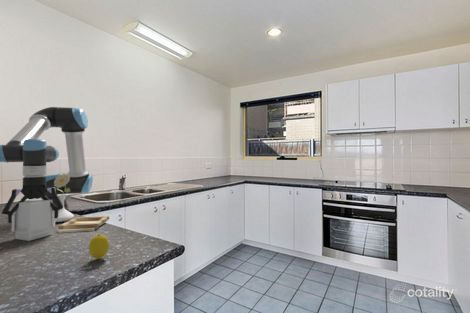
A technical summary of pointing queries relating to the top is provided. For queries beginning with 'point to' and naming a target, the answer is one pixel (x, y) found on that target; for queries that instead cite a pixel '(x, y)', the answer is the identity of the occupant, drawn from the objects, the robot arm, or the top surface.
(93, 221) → the tray
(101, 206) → the top surface
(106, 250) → the lemon
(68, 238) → the top surface
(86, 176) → the robot arm
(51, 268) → the top surface
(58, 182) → the flower in vase
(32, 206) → the supplement box
